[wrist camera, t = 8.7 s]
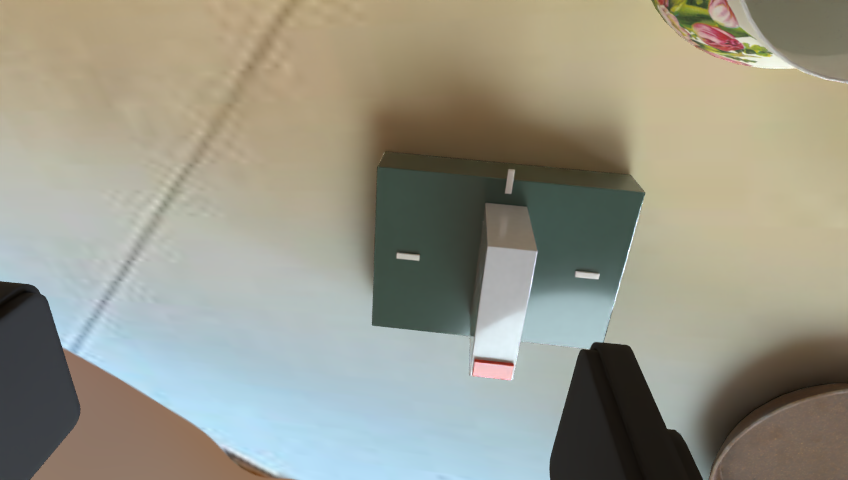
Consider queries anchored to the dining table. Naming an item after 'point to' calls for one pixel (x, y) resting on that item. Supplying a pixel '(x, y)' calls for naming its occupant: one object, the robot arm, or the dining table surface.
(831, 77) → the pitcher
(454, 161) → the plate
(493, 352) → the tap handle
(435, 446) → the dining table surface
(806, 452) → the plant saucer
